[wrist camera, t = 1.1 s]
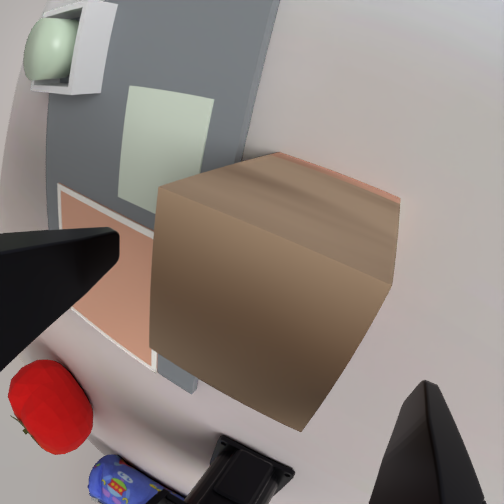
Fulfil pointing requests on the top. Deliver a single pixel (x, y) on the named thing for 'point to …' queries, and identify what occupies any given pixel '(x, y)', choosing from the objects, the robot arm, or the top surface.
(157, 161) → the picture board
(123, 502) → the pencil case
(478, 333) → the top surface
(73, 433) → the tomato
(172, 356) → the stamp
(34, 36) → the button
